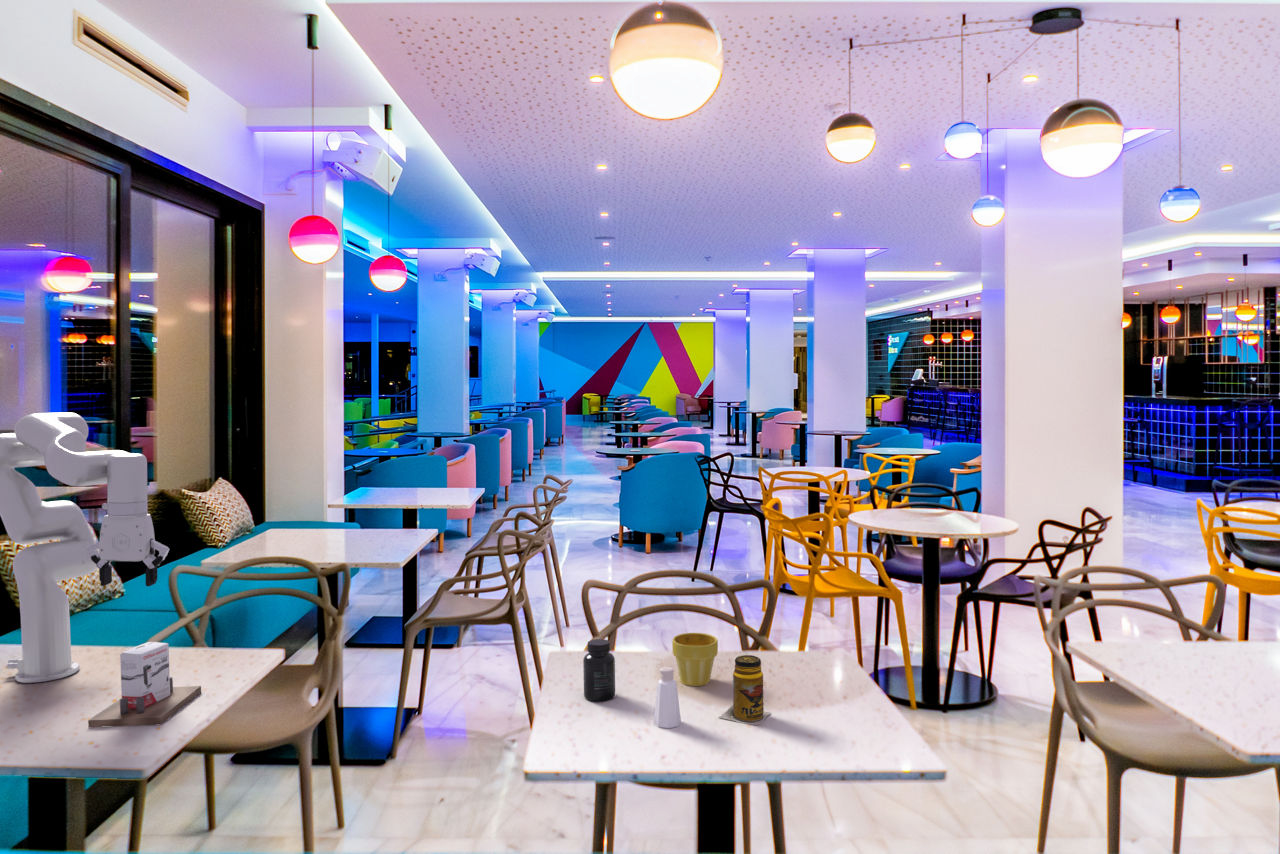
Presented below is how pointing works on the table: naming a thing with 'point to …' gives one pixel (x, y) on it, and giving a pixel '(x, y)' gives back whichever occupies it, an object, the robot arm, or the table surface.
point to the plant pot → (695, 657)
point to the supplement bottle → (599, 671)
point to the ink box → (145, 673)
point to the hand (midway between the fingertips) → (128, 584)
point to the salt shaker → (667, 700)
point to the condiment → (747, 692)
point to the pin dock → (145, 709)
